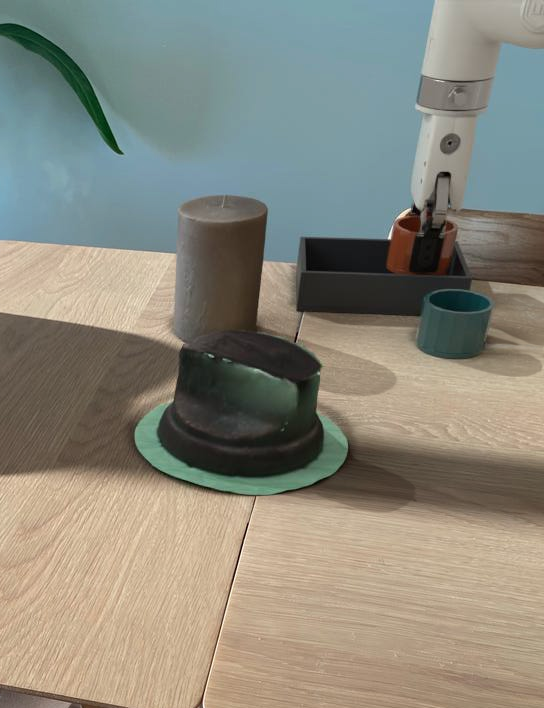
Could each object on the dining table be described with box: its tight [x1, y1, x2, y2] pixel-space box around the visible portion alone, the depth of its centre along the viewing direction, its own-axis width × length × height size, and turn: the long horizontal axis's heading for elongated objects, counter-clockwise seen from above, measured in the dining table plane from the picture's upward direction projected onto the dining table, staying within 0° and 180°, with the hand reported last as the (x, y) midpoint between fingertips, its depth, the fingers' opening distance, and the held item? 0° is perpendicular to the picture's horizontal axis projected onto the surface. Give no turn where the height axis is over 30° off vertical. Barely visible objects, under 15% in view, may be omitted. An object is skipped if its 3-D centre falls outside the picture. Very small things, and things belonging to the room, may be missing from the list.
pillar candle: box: [173, 194, 269, 343], centre depth 108 cm, size 10×10×15 cm
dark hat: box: [134, 330, 349, 496], centre depth 91 cm, size 15×19×20 cm
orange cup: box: [386, 215, 459, 276], centre depth 116 cm, size 7×7×5 cm
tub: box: [295, 236, 473, 317], centre depth 119 cm, size 19×13×5 cm
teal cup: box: [414, 289, 496, 360], centre depth 107 cm, size 7×7×5 cm
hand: (419, 258), depth 117 cm, fingers closed on orange cup, 7 cm apart
